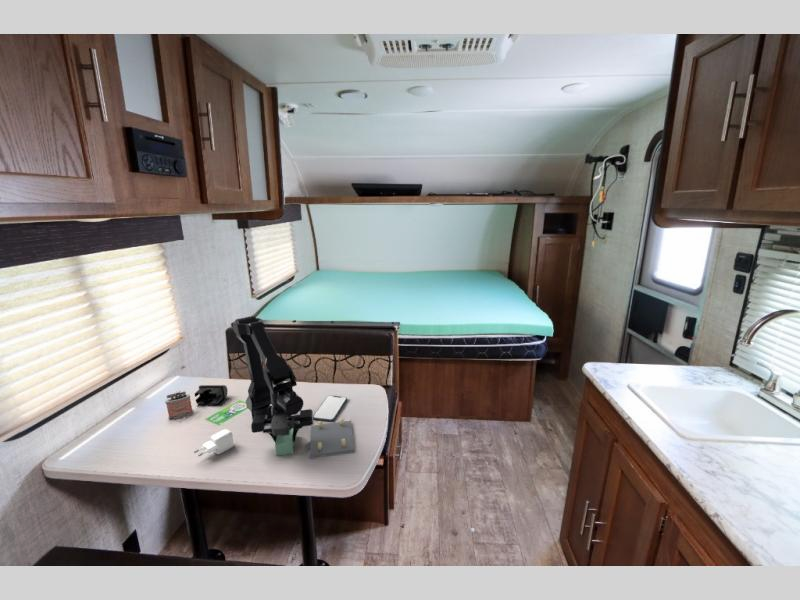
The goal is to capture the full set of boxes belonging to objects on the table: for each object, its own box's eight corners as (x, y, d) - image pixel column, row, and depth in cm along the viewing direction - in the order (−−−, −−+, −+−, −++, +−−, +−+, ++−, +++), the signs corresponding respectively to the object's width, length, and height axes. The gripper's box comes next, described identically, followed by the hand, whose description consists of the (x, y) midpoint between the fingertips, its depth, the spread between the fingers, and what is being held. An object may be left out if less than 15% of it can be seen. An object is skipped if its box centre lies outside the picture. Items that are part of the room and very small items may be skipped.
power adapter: (201, 466, 112) (198, 450, 111) (194, 460, 115) (191, 444, 114) (235, 447, 121) (233, 431, 119) (228, 441, 124) (225, 426, 122)
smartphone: (333, 424, 134) (348, 400, 149) (333, 420, 133) (348, 396, 148) (311, 421, 135) (328, 398, 150) (310, 417, 135) (327, 394, 150)
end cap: (228, 397, 152) (226, 382, 150) (220, 406, 145) (218, 391, 143) (205, 397, 152) (202, 382, 150) (195, 406, 145) (192, 391, 143)
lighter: (192, 409, 143) (188, 387, 140) (193, 414, 140) (189, 390, 137) (168, 416, 138) (163, 393, 136) (169, 421, 136) (164, 397, 133)
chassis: (309, 458, 115) (308, 448, 114) (311, 428, 130) (310, 419, 129) (354, 451, 118) (353, 442, 117) (350, 423, 133) (350, 414, 132)
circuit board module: (276, 455, 116) (274, 443, 115) (279, 438, 125) (278, 426, 124) (292, 453, 117) (291, 441, 116) (294, 436, 126) (293, 424, 125)
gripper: (244, 419, 107) (251, 463, 112) (309, 411, 111) (313, 454, 115) (251, 399, 118) (257, 440, 122) (311, 392, 121) (314, 433, 126)
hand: (285, 442), depth 121 cm, fingers closed on circuit board module, 5 cm apart
